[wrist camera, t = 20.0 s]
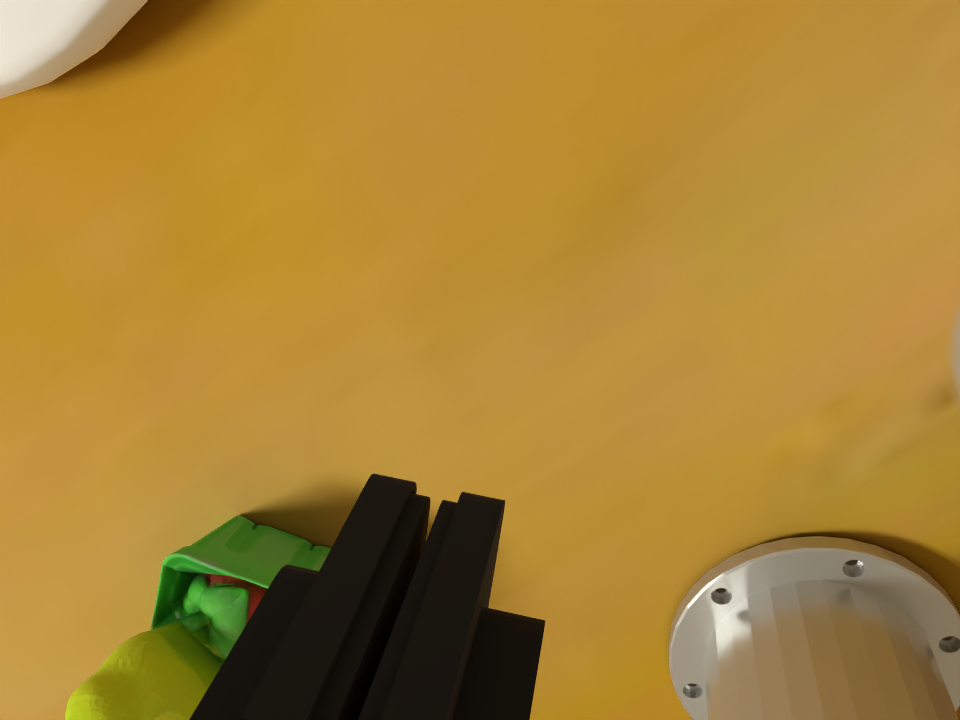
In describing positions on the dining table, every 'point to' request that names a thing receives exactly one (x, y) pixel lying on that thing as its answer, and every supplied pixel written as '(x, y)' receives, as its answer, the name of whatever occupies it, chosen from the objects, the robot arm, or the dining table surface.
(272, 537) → the fruit basket
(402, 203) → the dining table surface
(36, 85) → the plate
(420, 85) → the dining table surface
